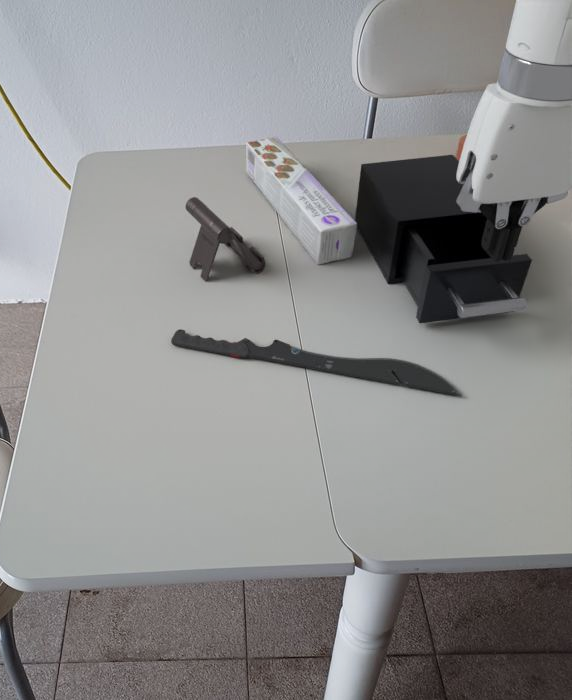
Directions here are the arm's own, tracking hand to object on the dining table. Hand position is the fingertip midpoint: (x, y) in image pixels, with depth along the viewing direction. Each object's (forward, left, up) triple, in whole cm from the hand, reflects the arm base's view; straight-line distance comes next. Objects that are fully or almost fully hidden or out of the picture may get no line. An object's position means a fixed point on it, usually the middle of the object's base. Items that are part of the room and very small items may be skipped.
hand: (495, 253), depth 67 cm
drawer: (0, -6, -10) cm, 11 cm away
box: (+14, -30, -11) cm, 35 cm away
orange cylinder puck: (-18, -40, -11) cm, 45 cm away
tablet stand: (+26, -19, -11) cm, 34 cm away
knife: (+19, +1, -11) cm, 22 cm away
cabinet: (0, -18, -11) cm, 21 cm away
